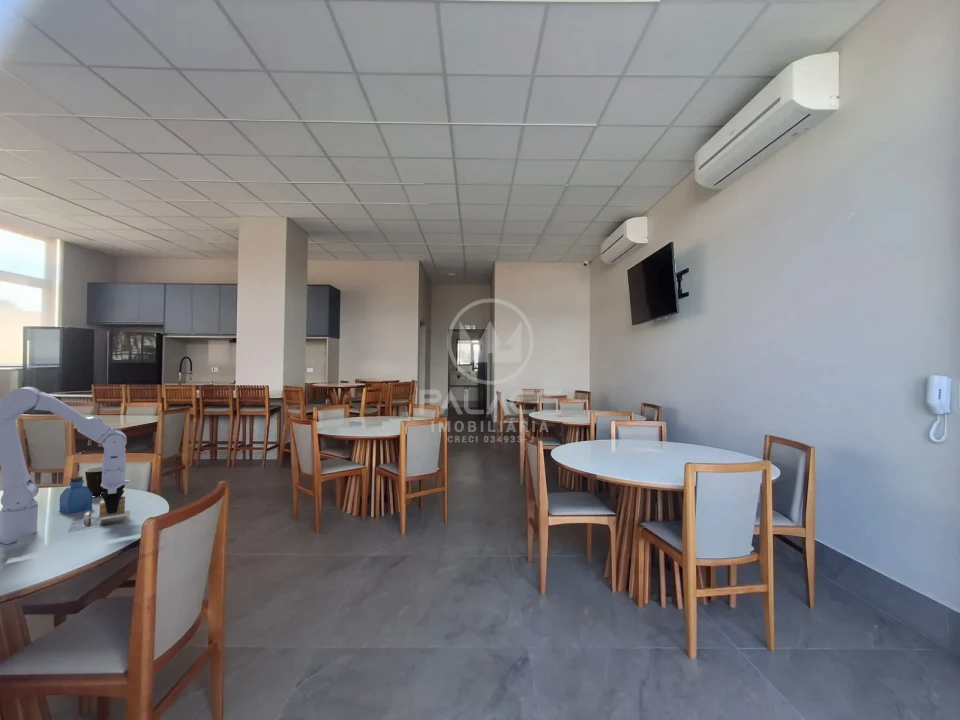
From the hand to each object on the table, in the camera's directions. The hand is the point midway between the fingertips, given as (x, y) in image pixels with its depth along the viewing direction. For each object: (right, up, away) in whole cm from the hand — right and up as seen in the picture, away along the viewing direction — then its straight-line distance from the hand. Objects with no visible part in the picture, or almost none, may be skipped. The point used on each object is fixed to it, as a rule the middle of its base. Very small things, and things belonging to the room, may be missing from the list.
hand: (112, 510), depth 135 cm
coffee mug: (-29, -4, +25) cm, 38 cm away
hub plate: (-2, -4, -2) cm, 4 cm away
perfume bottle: (-19, -4, +8) cm, 21 cm away
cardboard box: (0, -1, 0) cm, 1 cm away
